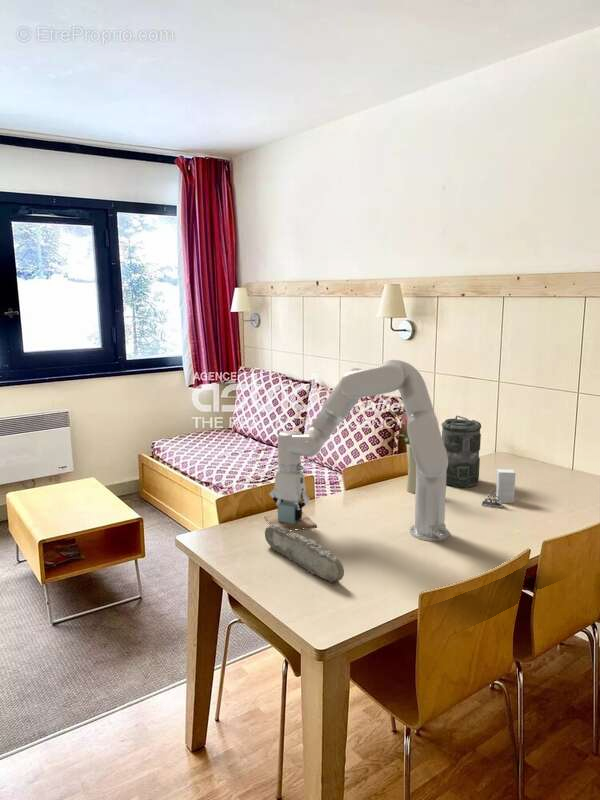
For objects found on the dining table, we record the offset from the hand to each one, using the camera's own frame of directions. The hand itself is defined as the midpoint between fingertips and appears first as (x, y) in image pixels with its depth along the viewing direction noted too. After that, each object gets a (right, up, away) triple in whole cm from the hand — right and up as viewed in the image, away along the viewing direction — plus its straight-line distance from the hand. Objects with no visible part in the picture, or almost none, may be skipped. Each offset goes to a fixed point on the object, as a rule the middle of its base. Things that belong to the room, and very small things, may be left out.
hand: (289, 517), depth 200 cm
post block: (0, -3, 0) cm, 3 cm away
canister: (+70, +6, +43) cm, 82 cm away
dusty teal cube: (0, -1, 0) cm, 1 cm away
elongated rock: (+4, -9, -30) cm, 32 cm away
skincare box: (+81, +2, +21) cm, 84 cm away
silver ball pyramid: (+77, +1, +18) cm, 79 cm away
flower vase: (+46, +3, +31) cm, 56 cm away
